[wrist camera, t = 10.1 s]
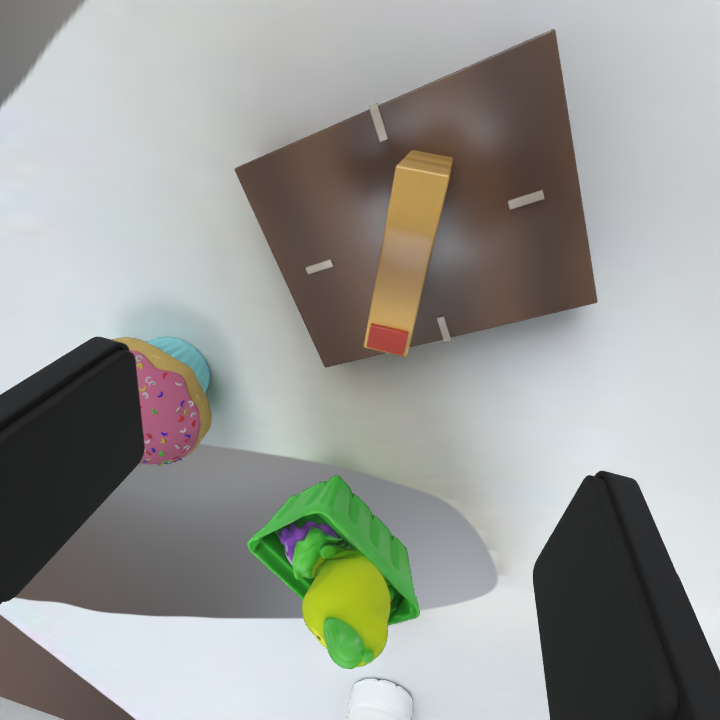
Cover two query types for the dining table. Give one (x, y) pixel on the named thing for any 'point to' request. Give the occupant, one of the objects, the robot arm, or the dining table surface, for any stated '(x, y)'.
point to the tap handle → (406, 249)
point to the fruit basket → (339, 569)
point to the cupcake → (170, 397)
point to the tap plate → (459, 213)
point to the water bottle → (379, 701)
